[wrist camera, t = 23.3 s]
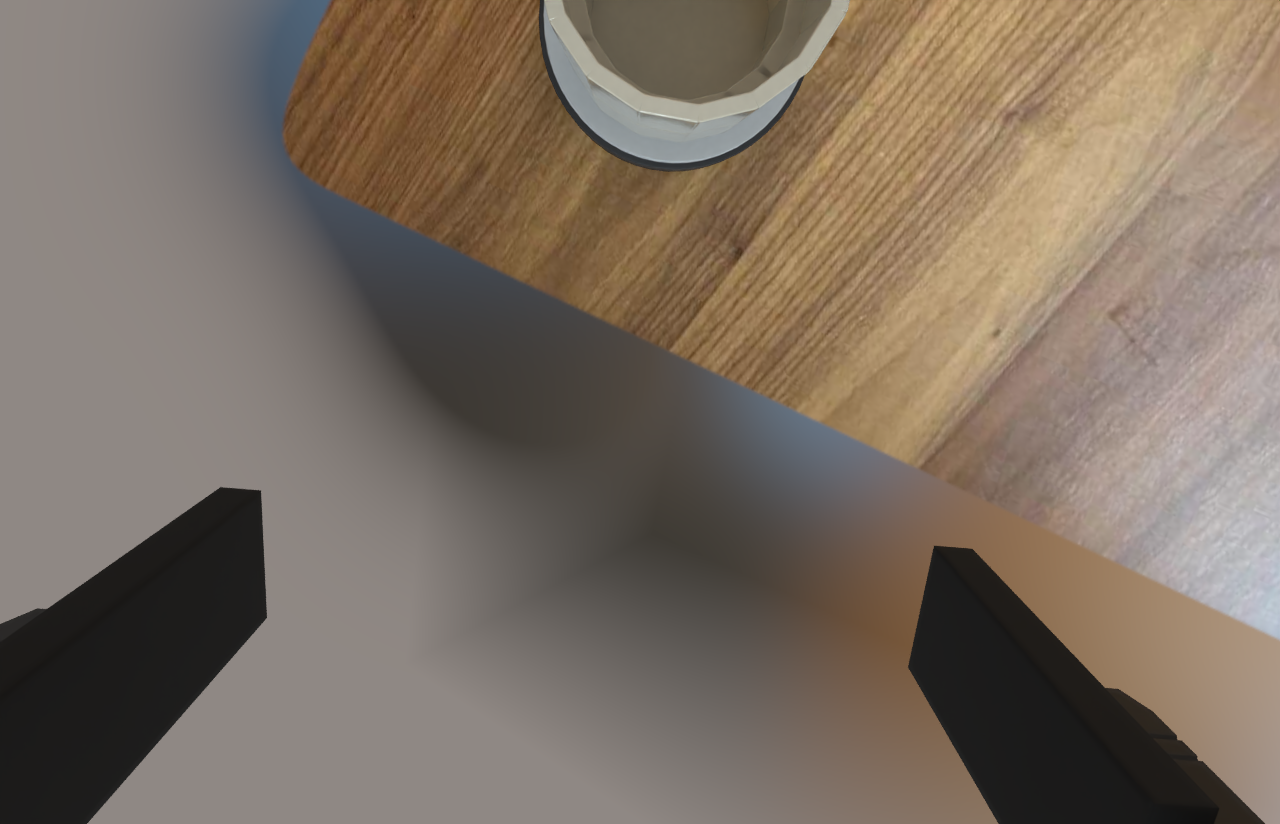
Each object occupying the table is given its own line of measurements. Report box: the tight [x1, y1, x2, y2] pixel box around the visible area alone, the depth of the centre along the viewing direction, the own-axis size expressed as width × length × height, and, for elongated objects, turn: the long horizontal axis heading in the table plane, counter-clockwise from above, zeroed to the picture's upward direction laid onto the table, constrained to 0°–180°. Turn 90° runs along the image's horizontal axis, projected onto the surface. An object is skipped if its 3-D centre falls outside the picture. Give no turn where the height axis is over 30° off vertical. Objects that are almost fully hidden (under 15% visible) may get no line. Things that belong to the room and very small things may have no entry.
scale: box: [539, 0, 805, 172], centre depth 37 cm, size 13×13×4 cm
